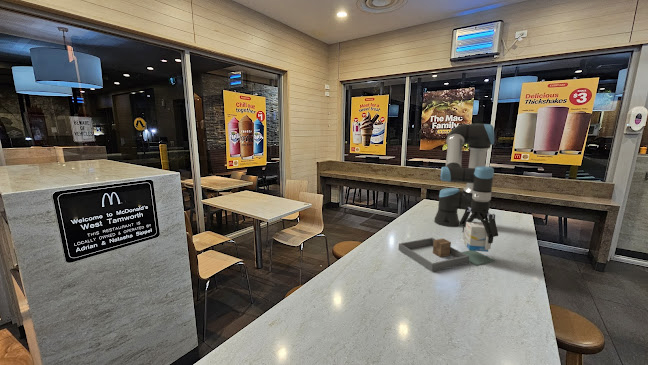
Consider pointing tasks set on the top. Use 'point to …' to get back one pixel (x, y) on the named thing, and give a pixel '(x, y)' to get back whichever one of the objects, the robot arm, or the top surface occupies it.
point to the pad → (478, 258)
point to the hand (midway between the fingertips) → (475, 244)
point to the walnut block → (441, 247)
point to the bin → (405, 249)
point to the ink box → (475, 236)
